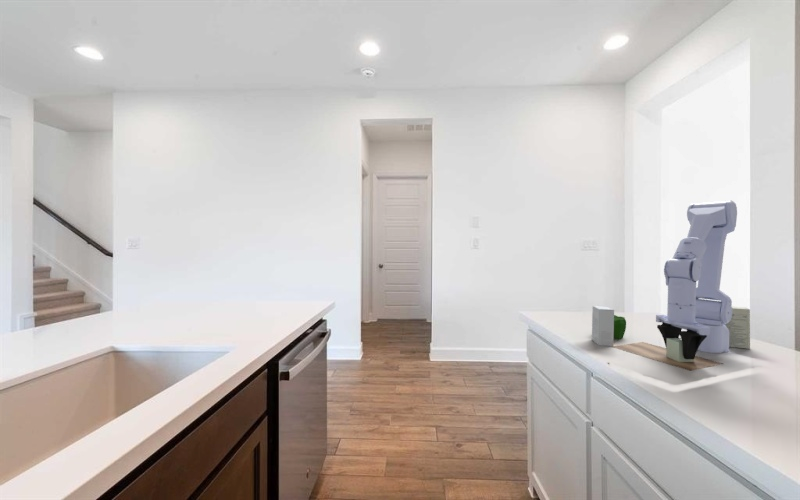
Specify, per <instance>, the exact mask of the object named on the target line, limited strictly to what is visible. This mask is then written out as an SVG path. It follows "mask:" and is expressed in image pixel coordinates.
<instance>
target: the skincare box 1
mask: <svg viewBox="0 0 800 500" xmlns="http://www.w3.org/2000/svg"><path fill="white" fill-rule="evenodd" d="M614 315H615V309H612V308H611V307H608V306H600V305H592V315H591V316H592V317H591V318H592V319H591V321H592V322H591V341H593V342H594V343H595V344H597V345H598V346H609V347H610V346H611V347H612V346H614V340H615V339H614Z"/></svg>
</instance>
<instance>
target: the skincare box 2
mask: <svg viewBox="0 0 800 500" xmlns="http://www.w3.org/2000/svg"><path fill="white" fill-rule="evenodd" d="M750 319H751V309H750V308H747V307H744V306H732V318H731V320H730V322H729V323H727V324H724V325H725V326H726V327H727V328H728V330H729V348H730V347H731V348H739V349H747V350H748V349H751V320H750Z"/></svg>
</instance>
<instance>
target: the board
mask: <svg viewBox="0 0 800 500" xmlns="http://www.w3.org/2000/svg"><path fill="white" fill-rule="evenodd" d="M611 348H614V349H618V350H621V351H624V352H626V353H631V354H633V355H638V356H640V357H644V358H647V359H650V360H654V361H657V362H661V363H664V364H667V365H669V366H670V365H671V366H673V367H675V368H676V367H678V368H680V369H683V370H687V371H695V370H699V369H704V368H710V367H715V366H718V365H724V363H723V362H719V361H715V360H712V359H708V358H704V357H701V356H697V355H695V358H694V362H678V361H676V360H673V359H671V358H669V357H666V347H663V346H659V345H655V344H653V343H648V342H645V341H640V342H634V343H626V344H619V345H613V346H611Z"/></svg>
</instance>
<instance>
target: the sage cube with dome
mask: <svg viewBox="0 0 800 500" xmlns="http://www.w3.org/2000/svg"><path fill="white" fill-rule="evenodd" d="M665 348H666V357H669V358H671V359H673V360H676V361H678V362H694V359H685V358H684V355H683V344H682V339H681V337H679V338H667V345H666V346H665Z"/></svg>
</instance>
